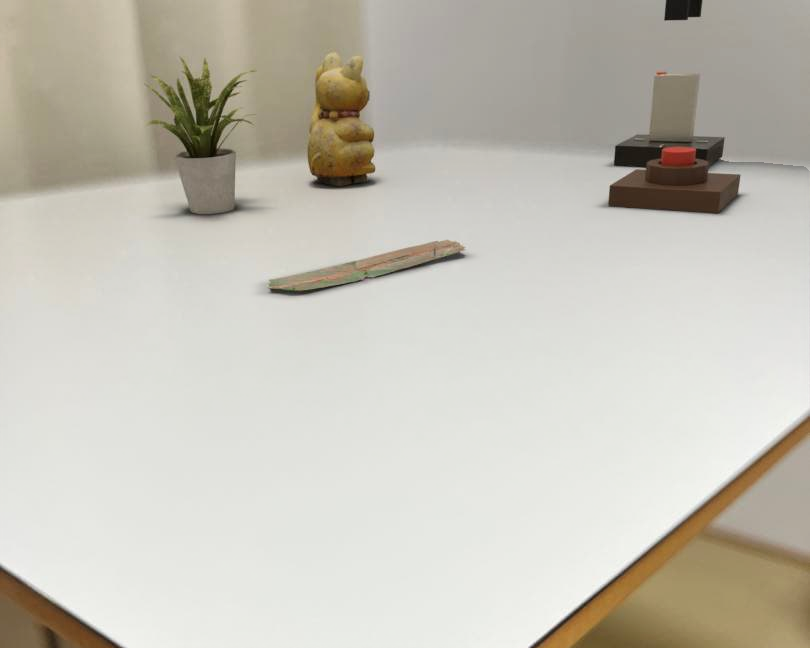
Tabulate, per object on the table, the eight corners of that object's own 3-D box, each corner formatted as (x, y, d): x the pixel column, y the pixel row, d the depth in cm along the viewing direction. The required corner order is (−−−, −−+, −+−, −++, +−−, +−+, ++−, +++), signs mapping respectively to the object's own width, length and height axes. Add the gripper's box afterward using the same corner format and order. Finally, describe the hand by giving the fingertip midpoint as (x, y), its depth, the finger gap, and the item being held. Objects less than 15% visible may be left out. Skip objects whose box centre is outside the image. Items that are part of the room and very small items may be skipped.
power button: (697, 164, 104) (699, 147, 103) (689, 170, 102) (691, 152, 101) (665, 162, 106) (667, 146, 105) (656, 168, 103) (658, 151, 102)
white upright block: (692, 140, 125) (700, 71, 120) (689, 142, 123) (697, 72, 119) (651, 139, 127) (657, 71, 123) (648, 141, 126) (654, 72, 121)
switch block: (737, 194, 107) (743, 157, 105) (717, 213, 99) (723, 173, 97) (634, 188, 112) (637, 152, 110) (608, 206, 104) (610, 168, 102)
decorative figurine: (388, 180, 122) (383, 51, 114) (344, 192, 117) (335, 57, 109) (336, 174, 128) (327, 50, 120) (291, 184, 123) (279, 55, 115)
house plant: (291, 215, 107) (275, 54, 98) (168, 230, 103) (141, 63, 94) (263, 193, 118) (247, 47, 110) (152, 205, 114) (126, 55, 106)
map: (257, 291, 83) (255, 281, 82) (441, 239, 92) (440, 229, 92) (285, 304, 79) (283, 293, 79) (473, 248, 89) (473, 238, 88)
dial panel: (722, 156, 128) (725, 135, 126) (704, 169, 120) (707, 147, 119) (635, 153, 133) (637, 132, 131) (613, 165, 125) (615, 144, 124)
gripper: (693, -203, 114) (672, 15, 126) (649, -223, 100) (631, 23, 112) (757, -210, 111) (729, 13, 123) (721, -233, 97) (694, 22, 109)
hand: (682, 18), depth 118 cm, fingers open, 6 cm apart
